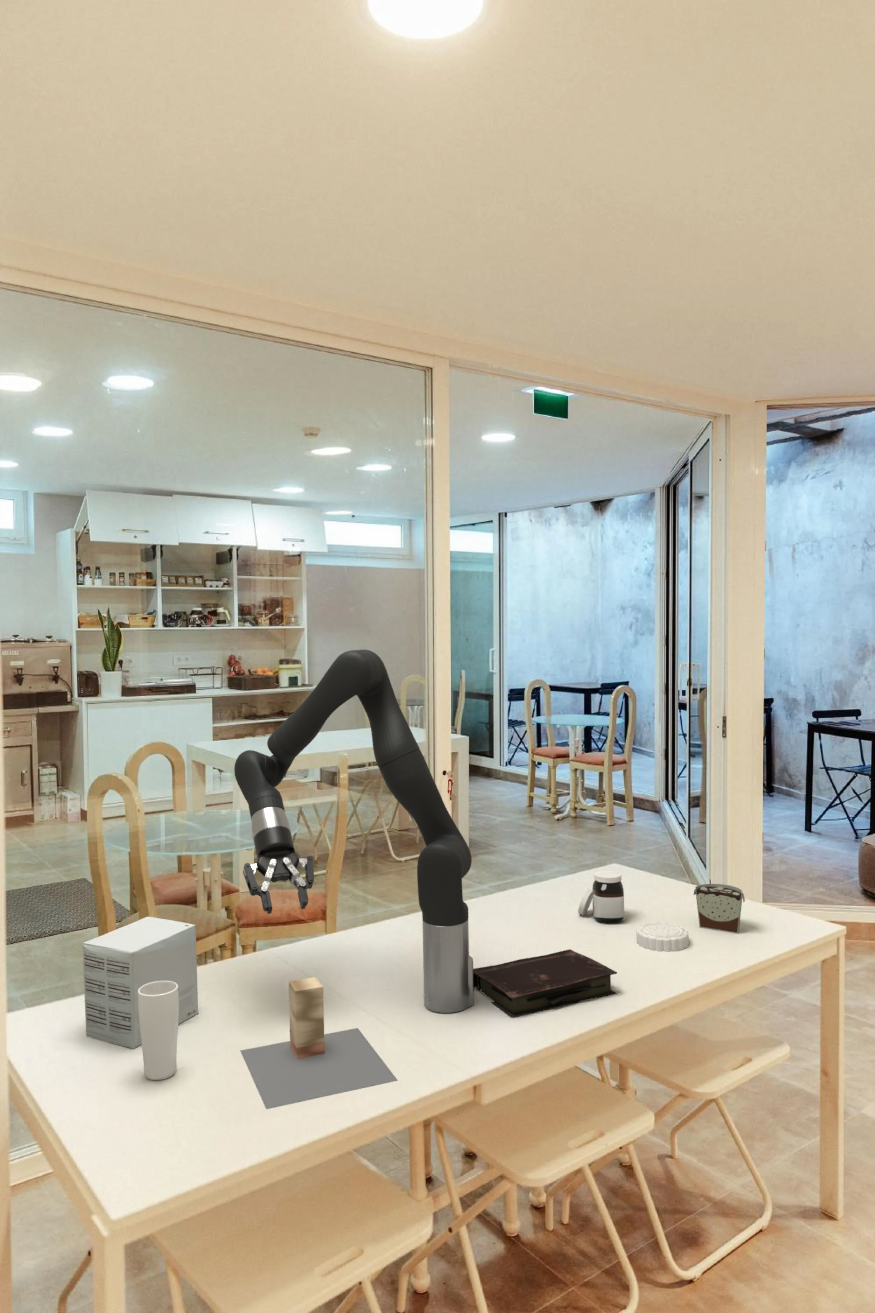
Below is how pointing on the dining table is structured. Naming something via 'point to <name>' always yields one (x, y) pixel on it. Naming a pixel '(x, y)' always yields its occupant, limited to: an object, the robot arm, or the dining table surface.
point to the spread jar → (605, 898)
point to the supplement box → (136, 975)
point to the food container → (719, 907)
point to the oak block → (306, 1017)
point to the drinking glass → (159, 1027)
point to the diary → (543, 982)
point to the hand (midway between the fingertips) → (287, 909)
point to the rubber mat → (315, 1069)
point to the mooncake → (662, 937)
